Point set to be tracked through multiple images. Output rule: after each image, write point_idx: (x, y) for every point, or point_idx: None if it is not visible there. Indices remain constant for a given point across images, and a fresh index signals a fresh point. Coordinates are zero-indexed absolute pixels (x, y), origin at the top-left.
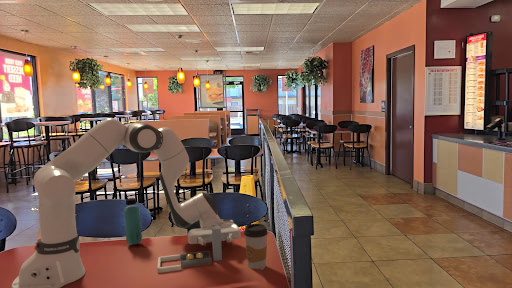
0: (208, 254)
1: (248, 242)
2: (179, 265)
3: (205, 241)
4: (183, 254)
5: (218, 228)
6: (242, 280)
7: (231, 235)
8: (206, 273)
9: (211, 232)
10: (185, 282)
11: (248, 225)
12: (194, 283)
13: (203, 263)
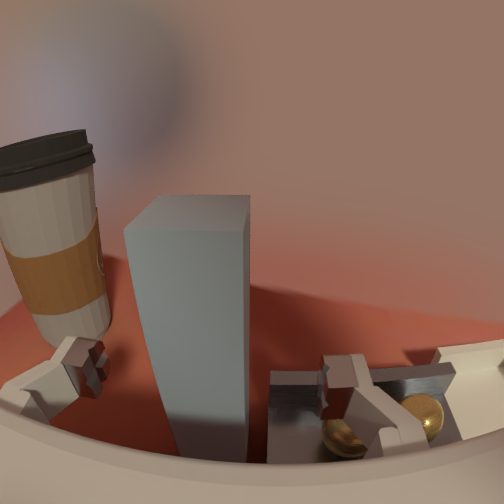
0: None
1: (94, 191)
2: (445, 350)
3: (322, 356)
4: None
5: (175, 200)
6: None
7: (24, 375)
8: (303, 349)
9: (217, 486)
10: (383, 311)
11: (36, 141)
12: (348, 301)
13: None
